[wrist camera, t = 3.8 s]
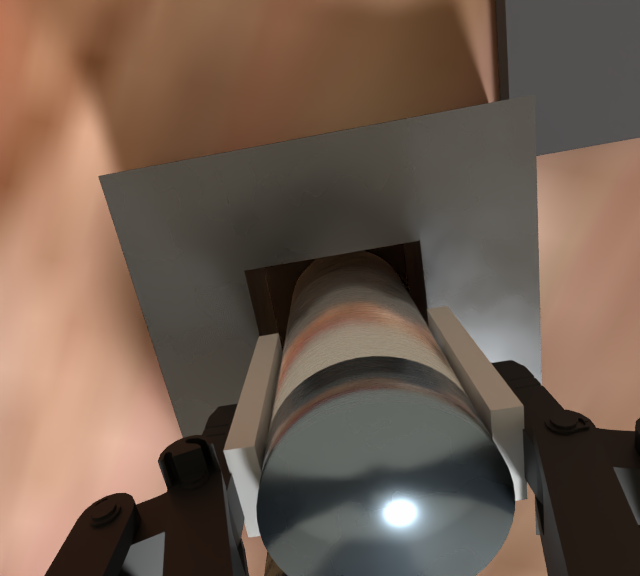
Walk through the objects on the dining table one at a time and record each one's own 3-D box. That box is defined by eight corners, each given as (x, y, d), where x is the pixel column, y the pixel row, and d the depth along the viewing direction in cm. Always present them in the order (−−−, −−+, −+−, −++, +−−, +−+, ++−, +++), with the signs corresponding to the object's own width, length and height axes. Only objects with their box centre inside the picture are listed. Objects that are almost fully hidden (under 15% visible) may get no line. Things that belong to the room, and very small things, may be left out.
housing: (226, 450, 26) (207, 512, 22) (143, 168, 21) (98, 176, 17) (505, 409, 25) (543, 465, 21) (489, 103, 20) (534, 94, 16)
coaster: (503, 159, 21) (511, 160, 20) (492, -71, 18) (502, -83, 17) (704, 123, 20) (723, 122, 19) (725, -120, 17) (749, -135, 16)
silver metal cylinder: (303, 363, 23) (284, 621, 11) (281, 260, 21) (229, 425, 9) (411, 346, 23) (519, 591, 10) (398, 239, 21) (509, 382, 9)
